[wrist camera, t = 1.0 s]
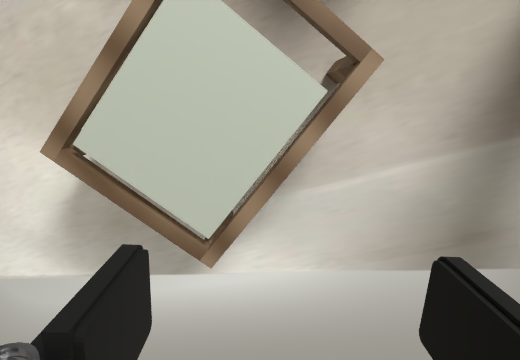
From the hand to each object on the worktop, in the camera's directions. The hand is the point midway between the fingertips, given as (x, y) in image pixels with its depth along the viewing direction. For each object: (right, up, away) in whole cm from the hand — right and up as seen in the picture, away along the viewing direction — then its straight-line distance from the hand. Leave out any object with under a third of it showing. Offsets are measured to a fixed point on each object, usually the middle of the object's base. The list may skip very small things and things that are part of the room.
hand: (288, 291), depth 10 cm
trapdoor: (-6, +10, +19) cm, 22 cm away
